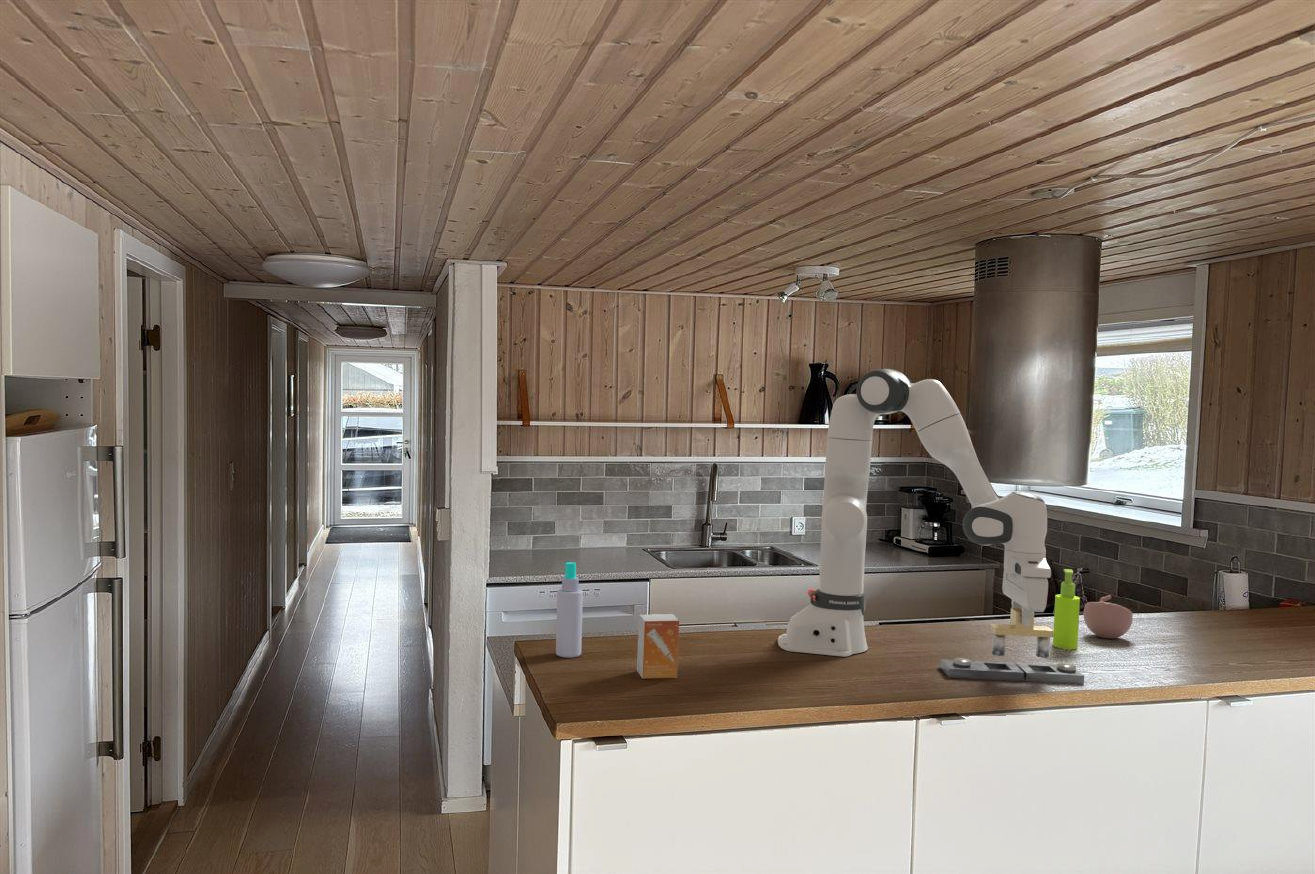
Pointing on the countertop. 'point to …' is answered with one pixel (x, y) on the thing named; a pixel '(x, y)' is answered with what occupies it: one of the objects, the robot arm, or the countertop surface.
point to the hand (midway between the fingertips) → (1021, 622)
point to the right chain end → (1051, 673)
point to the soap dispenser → (1066, 615)
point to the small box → (658, 646)
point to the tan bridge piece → (1020, 634)
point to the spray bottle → (569, 615)
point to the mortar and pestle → (1107, 618)
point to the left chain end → (981, 669)
